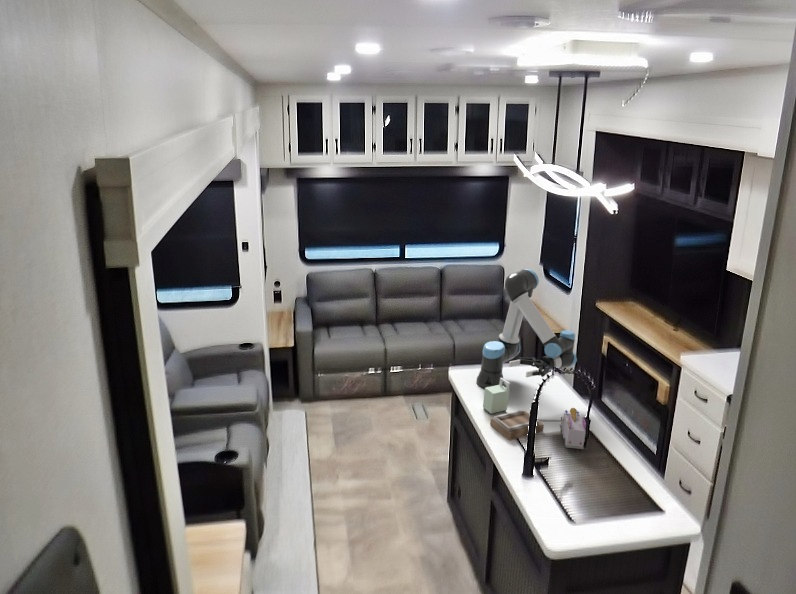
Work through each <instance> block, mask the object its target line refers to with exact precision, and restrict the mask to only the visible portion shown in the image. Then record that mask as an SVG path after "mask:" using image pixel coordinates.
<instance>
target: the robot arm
mask: <svg viewBox="0 0 796 594" xmlns="http://www.w3.org/2000/svg"><path fill="white" fill-rule="evenodd" d="M539 281H540V279H539V275H538V274H537V273H536V272H535V271H534V270H533V269H530V268H526V269H521V270H520V271H516V272H513V273H510V274H508V276H506V279H505V281H504V290H505V293H506V294H507V296H508V299H509V300H510V303H509V306H508V311H507V313H506V318H505V322H504V326H503V330H502V332H501V333H499V335H498V338H497V340H493V341H491V340H490V341H488V342H485V344H484V345H483V347H482V356H481V363H480V364H481V365H480V371H479V373H478V375H477V377H476V384H477V385H478V386H479V387H481V388H483V389H485V388H486V387H491V386H496V385H499V383H500V378H503V379H504V375H503V367H504V364H505V363H509V364H508V367H509V368H511V367H517V366H521V365H525V366H531V367H533V368H537V369H534V370H529V371H525V373H526V374H525V377H526V378H530V377H535V376H540V377H542V378H543V377H546V375H548V373H551V372H552V370H553V367H556V368H558V369H562V368H568V367H571V366H574V365H575V364H576V363H577V362H578V358H577V354H576V353H575V352H574V347H575V340H576V334H575V332H574V331H571V330H568V329H567V330H565V329H564V330H561V331H560V332H559V333H560V334H559V338H558V336H557V335H556V334H555V333H554V331H553V330H552V328H551V327H550V325H549V324H548V323H547V321H546V319H545V318H544V317H543V316H542V314H541V312H540V311H539V309H538V308H537V307H536V305H535V304H534V302H533V301H532V299H531V298H532V296H533V292H534V290H535V289H536V288H537V287H538V286H539ZM523 318H525V319H526V321H527V323H528V324H529V325H530V326H531V328H532V330H533V332H535V334H536V335H537V337H538V338H539V340H540V341H541V343H542V344H543V346H544V354H545V356H542V357H540V359H537V358H536V357H534V356H532V357H521V356H519V357H517V356H518V355H519V353H520V352H521V344H520V338H519V333H520V329H521V326H522V321H523ZM516 357H517V358H516ZM514 358H516V360H512V359H514ZM504 385H505V383H504V382H502V386H504ZM504 387H505V386H504Z"/></svg>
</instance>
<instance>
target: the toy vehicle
mask: <svg viewBox="0 0 796 594" xmlns="http://www.w3.org/2000/svg"><path fill="white" fill-rule="evenodd" d="M568 412H570V413H568ZM579 413H580V412H579V411H577V409H576V408H575V407H571V408H570V410H569V411H568V410H567V409H565V411H564V413H563V416H562V417H560V424H559V428H560V434H561V435H562V437H563V445H564V447H565V448H569V449H579V450H584V443H585V442H586V439H585V438H586V432H587V430H586V429H587V423H586V419H585V417H584V416H583V417H581V414H579Z"/></svg>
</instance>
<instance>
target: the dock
mask: <svg viewBox="0 0 796 594" xmlns="http://www.w3.org/2000/svg"><path fill="white" fill-rule="evenodd" d="M529 414H530V413H529V412H527V411H526V410H525V409H520V410H519V409H518V410H515V411H511V412H506V413H504V414H498V415H495V416H493V417H491V418H490V420H489V421H490V422H489V425H490V426H491V427H492V428H493V429H495V430H496V431H497V432H498V433H500V434H501V435H502V436H504V438H506V439H507V440H509V441H513V440H517V439H520V438H525V437H528V436H527V434H528V426H529ZM544 427H545V424H544V423H543V422H541V421H539V420H538V419H537V426H536V434H540V433H543V432H544Z"/></svg>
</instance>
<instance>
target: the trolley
mask: <svg viewBox="0 0 796 594" xmlns="http://www.w3.org/2000/svg"><path fill="white" fill-rule="evenodd" d="M502 382H504V384H506V385H505V386H502ZM510 385H511V384H510V382H509V381H507V379H505V378H504V377H503V378H500V383H499V385H496V386H491V387H486V388H484V393H483V394H484V395H483V402H482V408H483V411H487V412H488V413H489V415H491V416H492V415H494V414H495V413H499V412H503V413H507V410H508V405H509V397H510Z"/></svg>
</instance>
